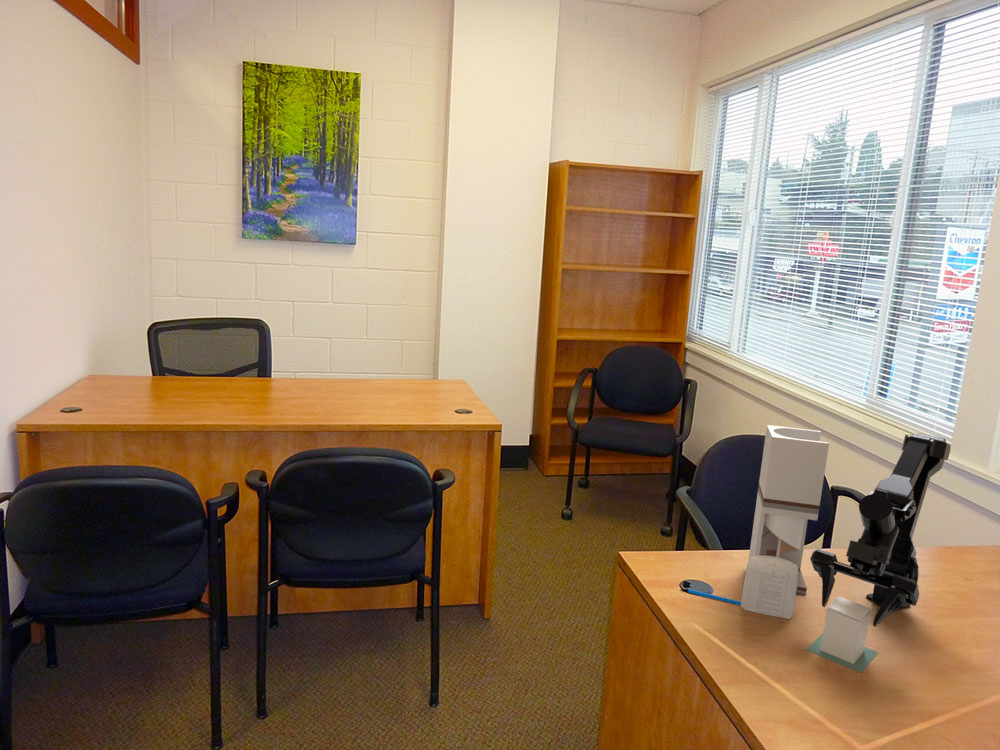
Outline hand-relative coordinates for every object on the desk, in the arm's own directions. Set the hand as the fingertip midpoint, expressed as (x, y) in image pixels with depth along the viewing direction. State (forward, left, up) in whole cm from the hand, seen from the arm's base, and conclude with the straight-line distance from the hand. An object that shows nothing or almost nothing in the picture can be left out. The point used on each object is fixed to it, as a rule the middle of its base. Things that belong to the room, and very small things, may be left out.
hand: (848, 615), depth 140 cm
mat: (0, 0, -8) cm, 8 cm away
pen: (+7, -24, -8) cm, 26 cm away
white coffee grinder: (-11, -27, -8) cm, 30 cm away
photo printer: (+2, -17, -8) cm, 19 cm away
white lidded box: (0, 0, -7) cm, 7 cm away
